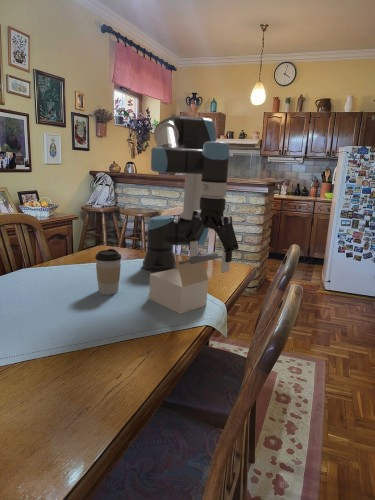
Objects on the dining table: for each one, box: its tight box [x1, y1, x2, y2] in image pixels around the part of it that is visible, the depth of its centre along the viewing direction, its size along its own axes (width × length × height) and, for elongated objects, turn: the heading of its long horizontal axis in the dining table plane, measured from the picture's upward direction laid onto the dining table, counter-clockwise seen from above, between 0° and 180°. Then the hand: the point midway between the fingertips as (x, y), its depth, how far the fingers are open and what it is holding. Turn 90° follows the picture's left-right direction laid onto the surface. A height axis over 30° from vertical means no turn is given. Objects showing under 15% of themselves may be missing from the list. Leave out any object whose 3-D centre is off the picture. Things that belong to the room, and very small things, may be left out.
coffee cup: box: [94, 248, 122, 295], centre depth 127 cm, size 9×9×15 cm
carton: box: [149, 268, 209, 315], centre depth 121 cm, size 12×17×9 cm
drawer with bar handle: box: [176, 251, 219, 287], centre depth 112 cm, size 11×8×8 cm
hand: (208, 266), depth 109 cm, fingers open, 13 cm apart
